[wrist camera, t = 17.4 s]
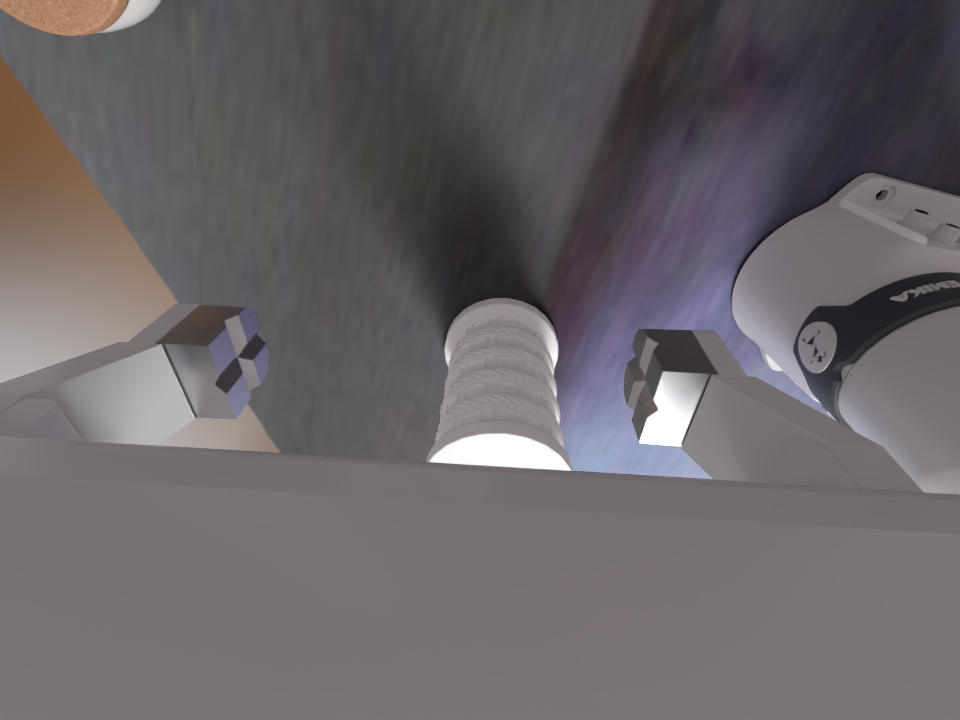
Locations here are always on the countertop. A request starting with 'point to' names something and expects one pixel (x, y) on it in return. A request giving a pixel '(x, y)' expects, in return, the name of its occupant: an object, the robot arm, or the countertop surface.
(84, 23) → the lidded jar
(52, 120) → the countertop surface
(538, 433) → the decorative container
